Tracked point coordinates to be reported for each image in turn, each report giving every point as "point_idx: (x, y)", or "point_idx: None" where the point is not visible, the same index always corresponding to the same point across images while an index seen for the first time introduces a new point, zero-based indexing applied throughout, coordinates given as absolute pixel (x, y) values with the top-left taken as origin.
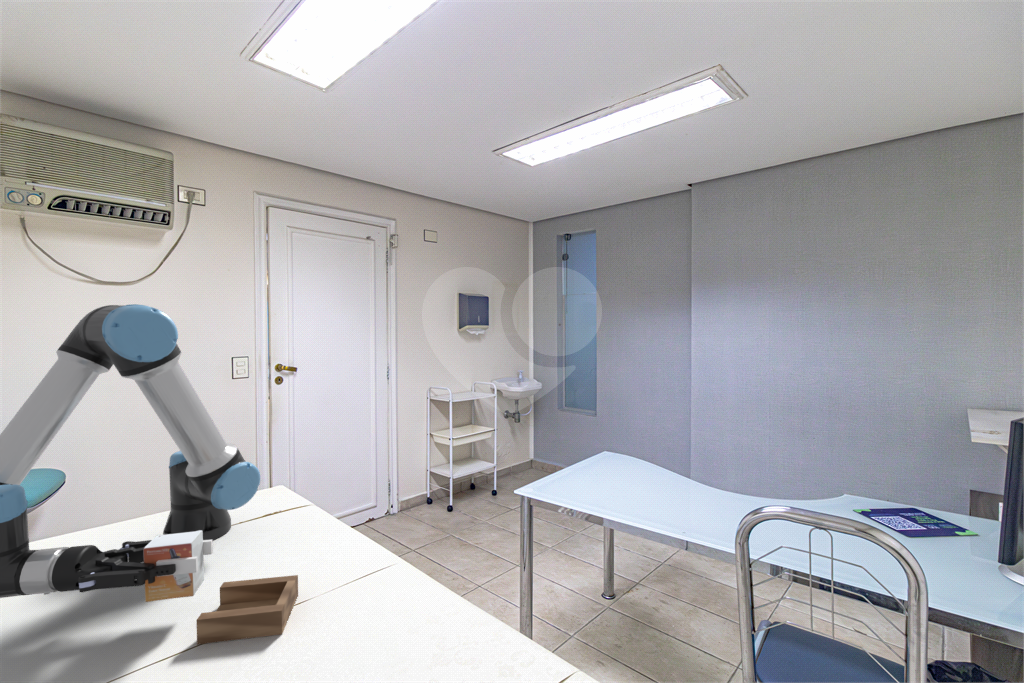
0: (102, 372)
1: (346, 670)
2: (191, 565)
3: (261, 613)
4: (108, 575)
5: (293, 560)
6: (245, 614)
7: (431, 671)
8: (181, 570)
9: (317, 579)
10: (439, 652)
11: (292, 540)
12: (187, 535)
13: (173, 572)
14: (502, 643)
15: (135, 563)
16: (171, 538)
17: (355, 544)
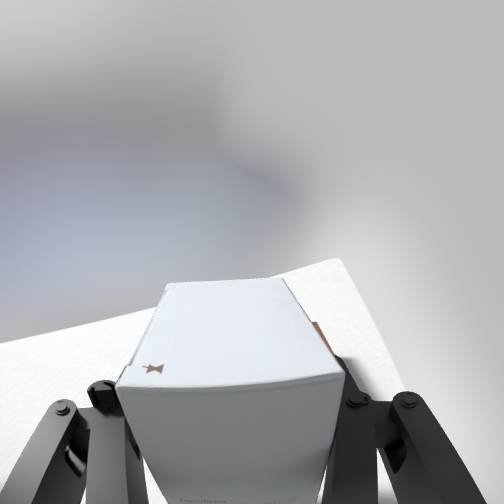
0: None
1: (361, 306)
2: None
3: (323, 336)
4: (480, 496)
5: (90, 376)
6: (329, 347)
7: (349, 281)
8: None
9: None
10: (329, 280)
11: (20, 376)
12: (206, 293)
13: None
14: (316, 267)
15: (346, 474)
16: (221, 319)
17: (96, 327)
